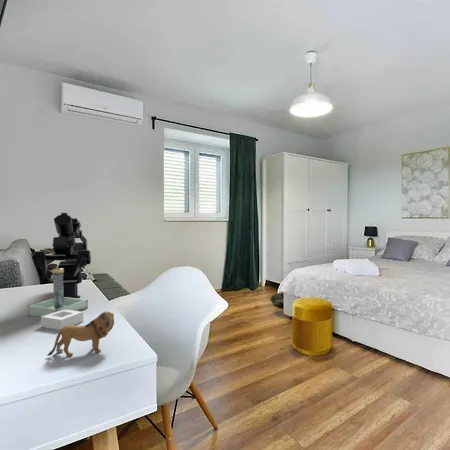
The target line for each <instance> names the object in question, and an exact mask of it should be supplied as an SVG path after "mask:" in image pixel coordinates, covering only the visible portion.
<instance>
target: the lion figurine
mask: <svg viewBox="0 0 450 450" xmlns="http://www.w3.org/2000/svg"><path fill="white" fill-rule="evenodd" d="M114 315H115V314H114V312H113V313H112V312H110V311H103V312H101V313H100V314H99V315H98V316H97V317H96V318H94V319H92V320H91V321H90V322H88V323H87V324H85V325H68V326H65V327H63V328H62V329H61V330H58V333H57V335H56V338H55V341H54V346H53V347H52V349H51V350H50V351H49V353H48V354H47V356H52V355H53V354H54V352H55V351H56V353H57V354H58V353H59V354H60V353H63V352H64V353H65V356H66V357H68V358H70V357H72V356H73V355H74V354H73V352H69V346H70V344H71V343H72V342H71V341H72V339H74V340H76V341H78V342H87V341H91V343H92V344H91V347H92V349H93V351H94V353H96V352H99V353H101V349H100V348H99V345H100V339H104V338H106V337H107V336H108V334H109V332H111V330H113V327H114V325H115V318H114V317H115V316H114ZM60 338H61V339H60ZM59 339H60V340H59ZM62 346H64V347H63V349H61V347H62Z"/></svg>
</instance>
